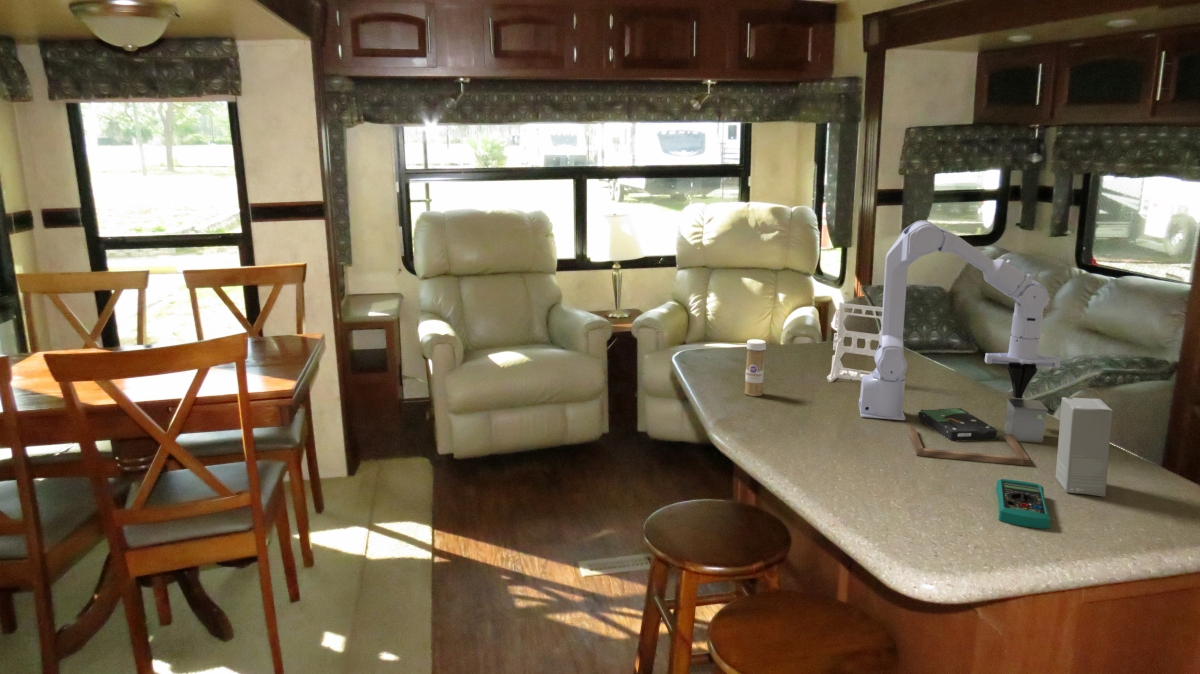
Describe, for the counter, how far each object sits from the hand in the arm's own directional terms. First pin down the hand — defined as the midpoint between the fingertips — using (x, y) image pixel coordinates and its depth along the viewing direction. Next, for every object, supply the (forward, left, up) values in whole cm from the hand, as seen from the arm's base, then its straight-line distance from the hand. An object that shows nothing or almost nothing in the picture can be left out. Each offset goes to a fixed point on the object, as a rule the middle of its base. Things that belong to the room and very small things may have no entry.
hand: (1017, 397), depth 179 cm
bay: (-13, -18, -6) cm, 23 cm away
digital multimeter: (-9, -47, -7) cm, 48 cm away
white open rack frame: (-31, +29, -7) cm, 43 cm away
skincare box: (+3, -34, -7) cm, 35 cm away
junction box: (0, -8, -6) cm, 10 cm away
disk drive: (-13, -6, -7) cm, 16 cm away
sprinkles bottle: (-57, +8, -7) cm, 58 cm away
